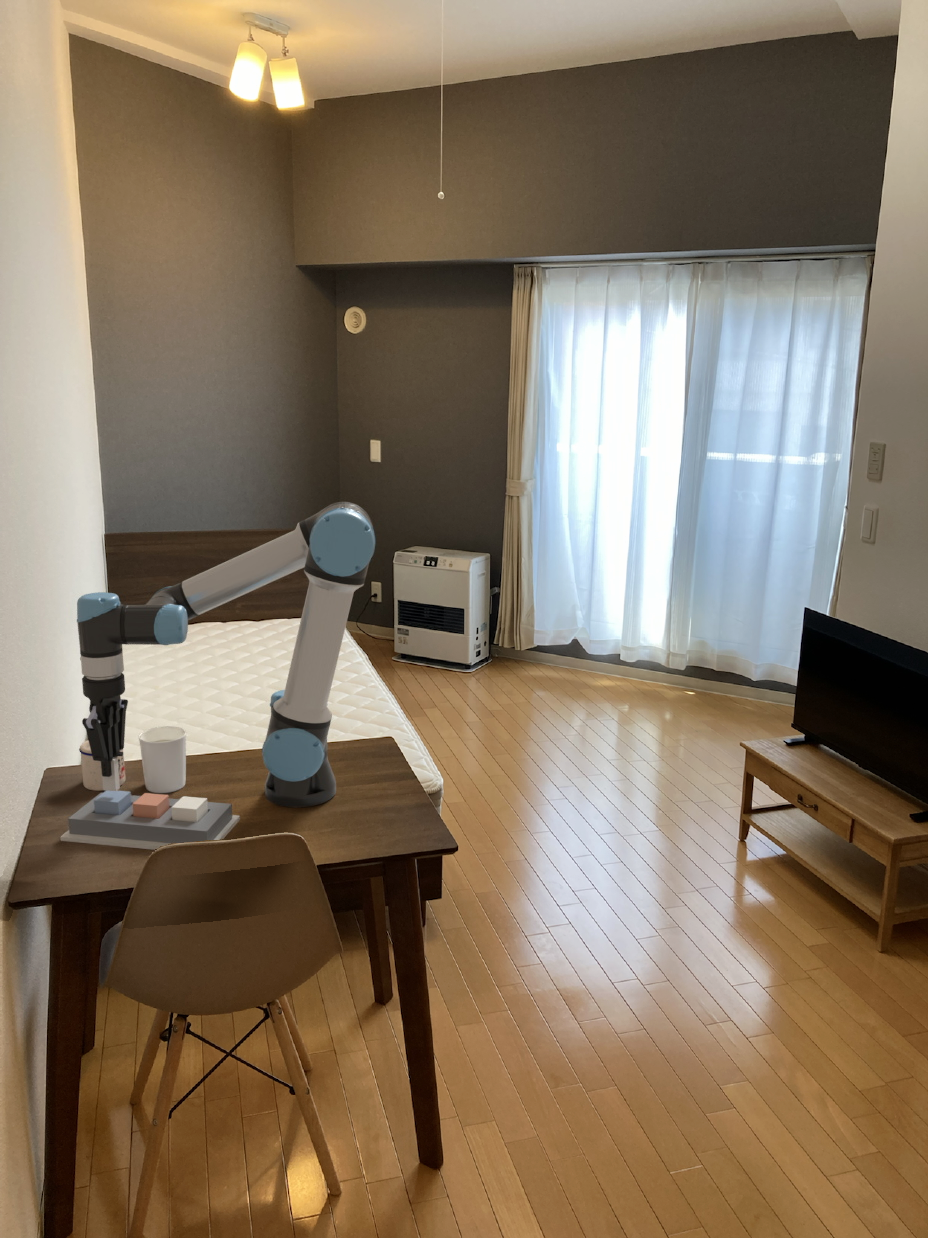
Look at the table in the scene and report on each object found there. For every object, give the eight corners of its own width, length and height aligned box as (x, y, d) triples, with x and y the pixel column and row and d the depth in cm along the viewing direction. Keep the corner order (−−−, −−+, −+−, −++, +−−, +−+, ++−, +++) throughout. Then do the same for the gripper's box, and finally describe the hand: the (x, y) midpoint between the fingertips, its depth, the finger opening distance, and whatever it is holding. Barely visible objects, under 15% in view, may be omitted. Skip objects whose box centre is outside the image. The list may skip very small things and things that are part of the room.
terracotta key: (169, 809, 184) (168, 795, 183) (157, 820, 179) (156, 805, 178) (145, 806, 185) (144, 793, 184) (133, 818, 180) (132, 803, 179)
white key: (207, 812, 183) (207, 798, 182) (197, 823, 178) (196, 809, 177) (183, 810, 183) (183, 796, 183) (172, 821, 179) (171, 807, 178)
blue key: (131, 805, 185) (130, 791, 184) (119, 816, 180) (118, 802, 179) (108, 803, 186) (107, 789, 185) (95, 814, 181) (93, 800, 180)
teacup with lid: (122, 790, 200) (118, 740, 197) (78, 793, 198) (73, 741, 195) (132, 768, 211) (128, 720, 208) (90, 770, 210) (86, 722, 207)
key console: (240, 819, 188) (239, 801, 187) (209, 855, 173) (208, 835, 172) (101, 807, 192) (100, 789, 191) (60, 840, 178) (58, 821, 177)
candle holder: (196, 778, 207) (194, 727, 204) (176, 797, 197) (173, 744, 194) (155, 774, 208) (152, 724, 205) (133, 793, 199) (129, 740, 196)
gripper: (102, 663, 183) (110, 774, 189) (65, 683, 170) (75, 801, 176) (138, 665, 182) (145, 777, 188) (103, 686, 169) (112, 805, 175)
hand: (111, 789), depth 182 cm, fingers closed
